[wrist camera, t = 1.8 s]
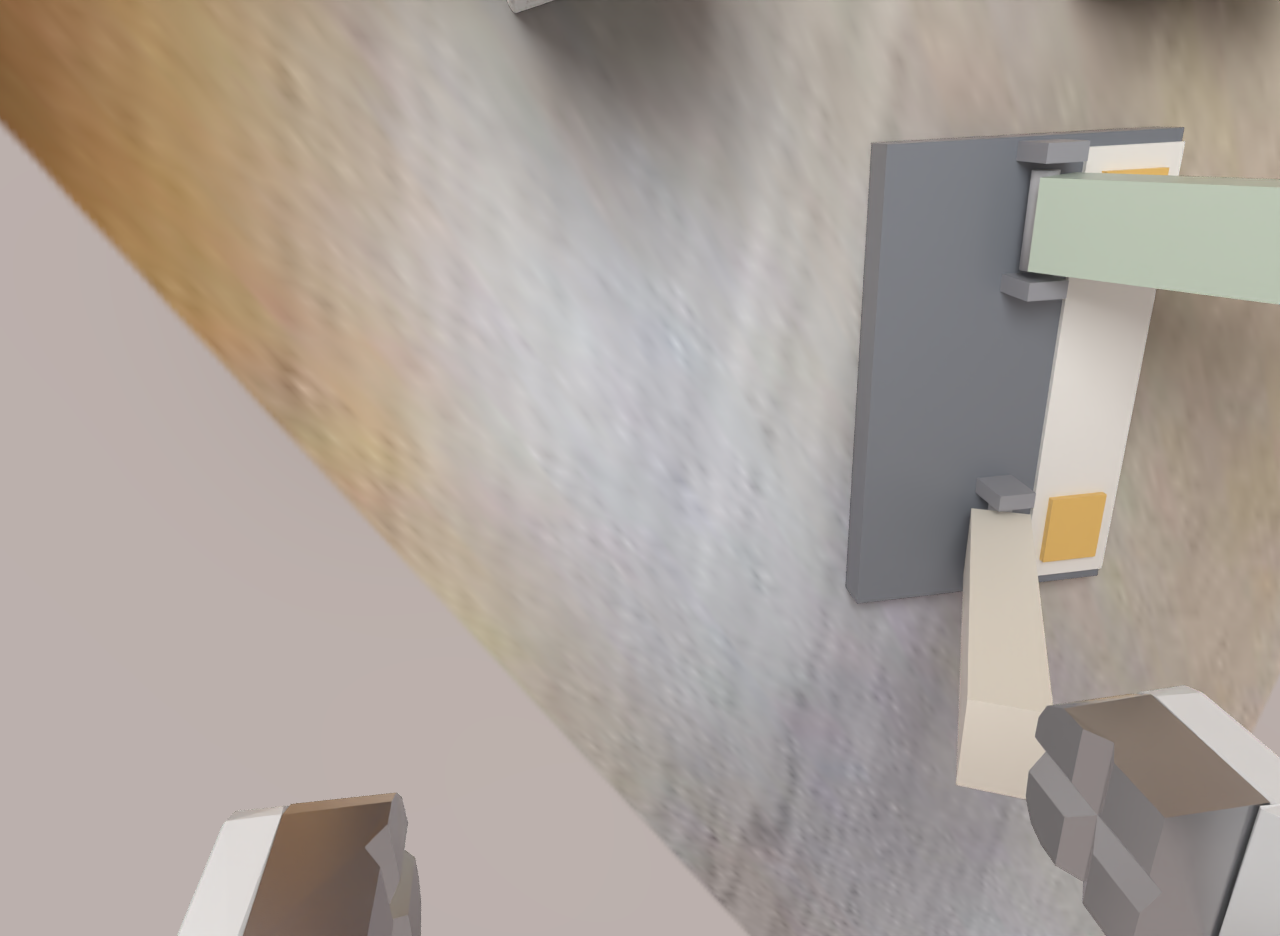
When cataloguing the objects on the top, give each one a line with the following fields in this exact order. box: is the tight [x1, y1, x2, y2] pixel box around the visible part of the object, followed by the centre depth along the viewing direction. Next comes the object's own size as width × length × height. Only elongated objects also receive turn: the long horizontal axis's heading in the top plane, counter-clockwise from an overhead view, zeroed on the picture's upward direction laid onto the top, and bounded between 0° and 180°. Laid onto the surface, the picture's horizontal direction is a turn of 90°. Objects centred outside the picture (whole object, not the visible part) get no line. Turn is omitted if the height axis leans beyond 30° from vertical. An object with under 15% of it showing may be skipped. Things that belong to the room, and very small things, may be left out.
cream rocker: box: [956, 504, 1053, 799], centre depth 32 cm, size 2×4×15 cm
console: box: [846, 127, 1185, 604], centre depth 36 cm, size 12×20×4 cm, turn 4°
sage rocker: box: [1019, 169, 1280, 305], centre depth 28 cm, size 2×4×15 cm, turn 3°
